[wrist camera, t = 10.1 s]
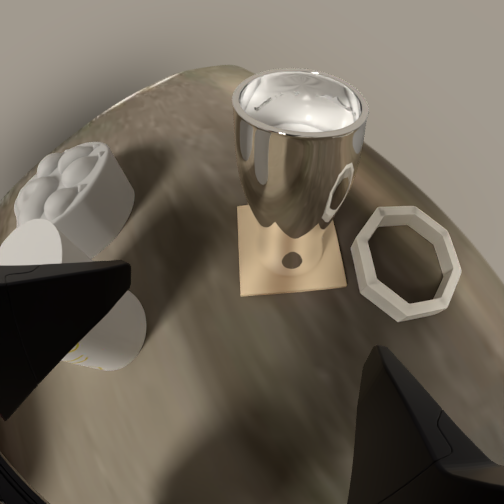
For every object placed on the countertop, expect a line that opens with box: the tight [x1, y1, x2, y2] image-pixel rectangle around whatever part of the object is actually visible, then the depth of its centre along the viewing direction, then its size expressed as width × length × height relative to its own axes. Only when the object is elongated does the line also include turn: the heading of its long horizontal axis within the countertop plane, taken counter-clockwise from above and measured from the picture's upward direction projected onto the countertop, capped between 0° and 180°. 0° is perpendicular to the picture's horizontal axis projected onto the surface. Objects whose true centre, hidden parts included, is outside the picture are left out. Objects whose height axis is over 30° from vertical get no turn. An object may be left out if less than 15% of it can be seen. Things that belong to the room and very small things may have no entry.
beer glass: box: [232, 68, 369, 277], centre depth 18 cm, size 7×7×15 cm
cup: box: [0, 219, 146, 371], centre depth 17 cm, size 8×8×12 cm
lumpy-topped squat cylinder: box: [14, 142, 135, 259], centre depth 25 cm, size 10×13×9 cm
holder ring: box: [350, 206, 462, 322], centre depth 23 cm, size 11×11×2 cm
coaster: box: [237, 205, 347, 297], centre depth 25 cm, size 9×9×1 cm
